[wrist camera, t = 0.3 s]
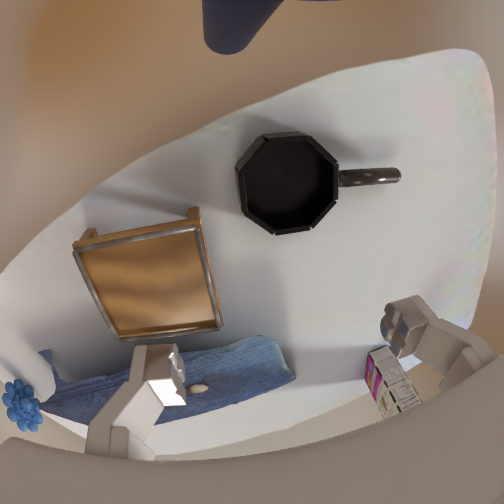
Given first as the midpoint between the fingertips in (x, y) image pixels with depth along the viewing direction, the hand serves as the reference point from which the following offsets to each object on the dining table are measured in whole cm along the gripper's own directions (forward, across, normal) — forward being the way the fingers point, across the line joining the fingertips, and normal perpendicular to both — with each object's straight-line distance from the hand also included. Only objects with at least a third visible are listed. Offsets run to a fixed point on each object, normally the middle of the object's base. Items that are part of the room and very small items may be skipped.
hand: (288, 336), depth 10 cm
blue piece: (+22, +17, +32) cm, 42 cm away
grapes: (+21, +52, +36) cm, 67 cm away
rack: (+21, +11, +10) cm, 26 cm away
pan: (+21, -9, +1) cm, 23 cm away
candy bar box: (+21, -25, +40) cm, 52 cm away
